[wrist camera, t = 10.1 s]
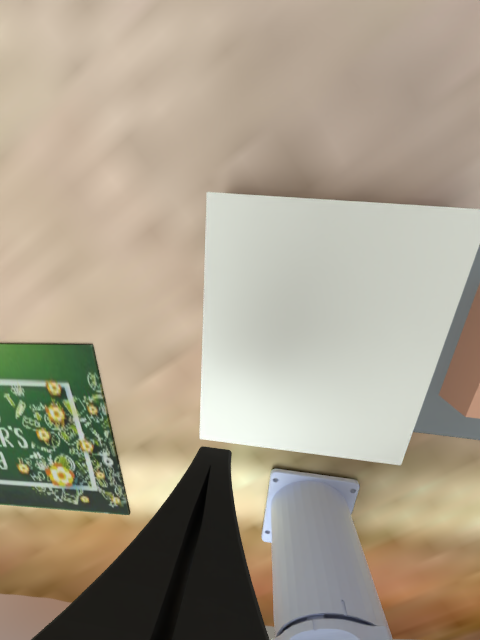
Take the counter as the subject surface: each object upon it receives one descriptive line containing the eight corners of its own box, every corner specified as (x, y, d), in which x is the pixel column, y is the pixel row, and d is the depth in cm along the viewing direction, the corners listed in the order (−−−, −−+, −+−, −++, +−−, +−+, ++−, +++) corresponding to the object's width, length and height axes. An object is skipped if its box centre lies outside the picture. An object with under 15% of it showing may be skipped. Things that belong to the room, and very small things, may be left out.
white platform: (374, 423, 20) (400, 465, 16) (211, 404, 21) (199, 438, 17) (433, 220, 15) (491, 209, 11) (220, 205, 16) (206, 192, 12)
